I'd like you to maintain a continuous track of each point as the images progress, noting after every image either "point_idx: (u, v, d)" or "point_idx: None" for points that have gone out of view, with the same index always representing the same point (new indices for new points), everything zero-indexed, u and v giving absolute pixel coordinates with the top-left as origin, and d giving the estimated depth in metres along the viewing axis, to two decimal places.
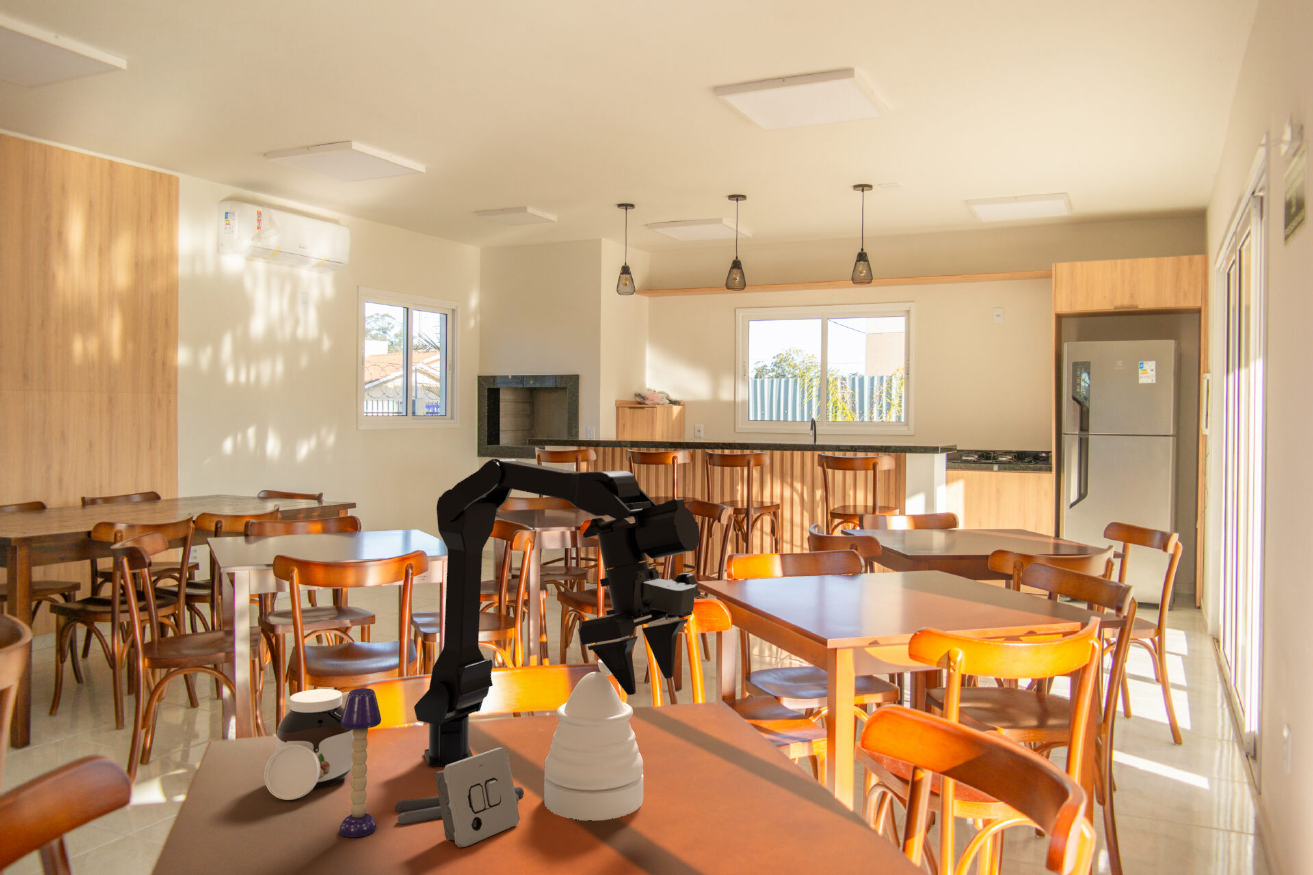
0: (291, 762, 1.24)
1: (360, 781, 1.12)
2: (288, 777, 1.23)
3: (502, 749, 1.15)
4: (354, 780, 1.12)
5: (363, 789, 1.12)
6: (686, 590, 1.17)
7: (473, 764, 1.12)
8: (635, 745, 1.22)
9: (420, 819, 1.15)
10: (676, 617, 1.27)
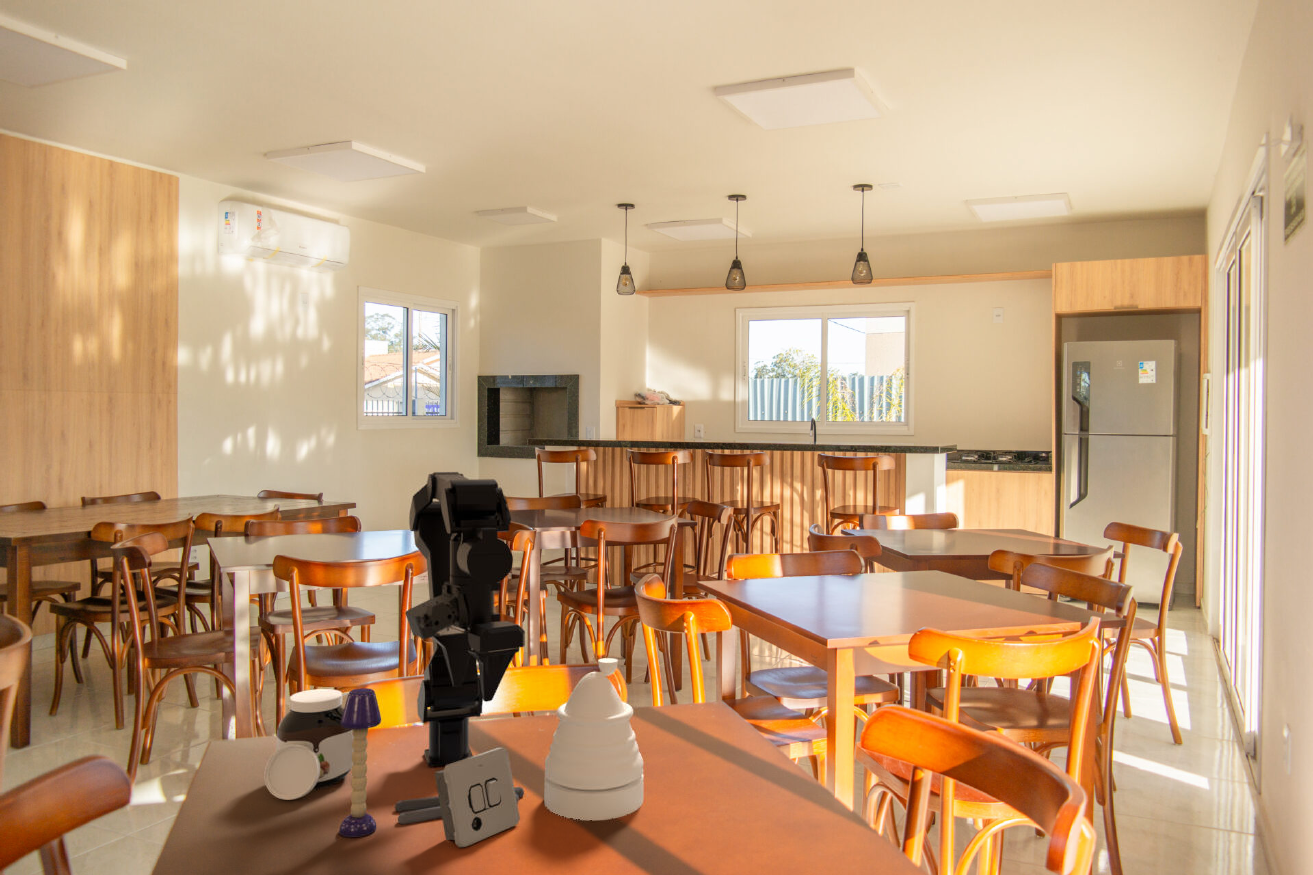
0: (291, 762, 1.24)
1: (360, 781, 1.12)
2: (288, 777, 1.23)
3: (502, 749, 1.15)
4: (354, 780, 1.12)
5: (363, 789, 1.12)
6: (408, 615, 1.19)
7: (473, 764, 1.12)
8: (635, 745, 1.22)
9: (420, 819, 1.15)
10: None
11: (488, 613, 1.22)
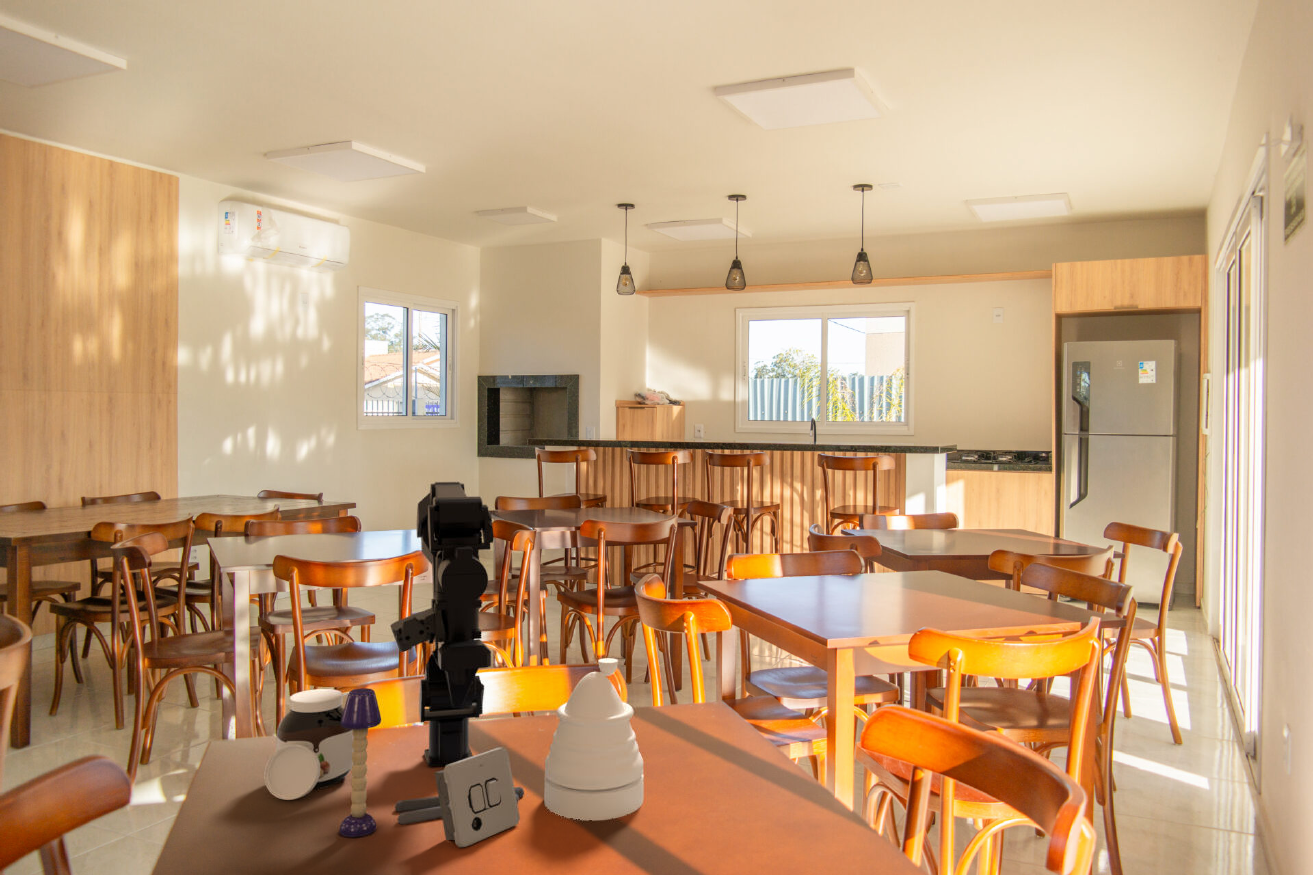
0: (291, 762, 1.24)
1: (360, 781, 1.12)
2: (288, 777, 1.23)
3: (502, 749, 1.15)
4: (354, 780, 1.12)
5: (363, 789, 1.12)
6: (391, 627, 1.23)
7: (473, 764, 1.12)
8: (635, 745, 1.22)
9: (420, 819, 1.15)
10: None
11: (467, 629, 1.23)
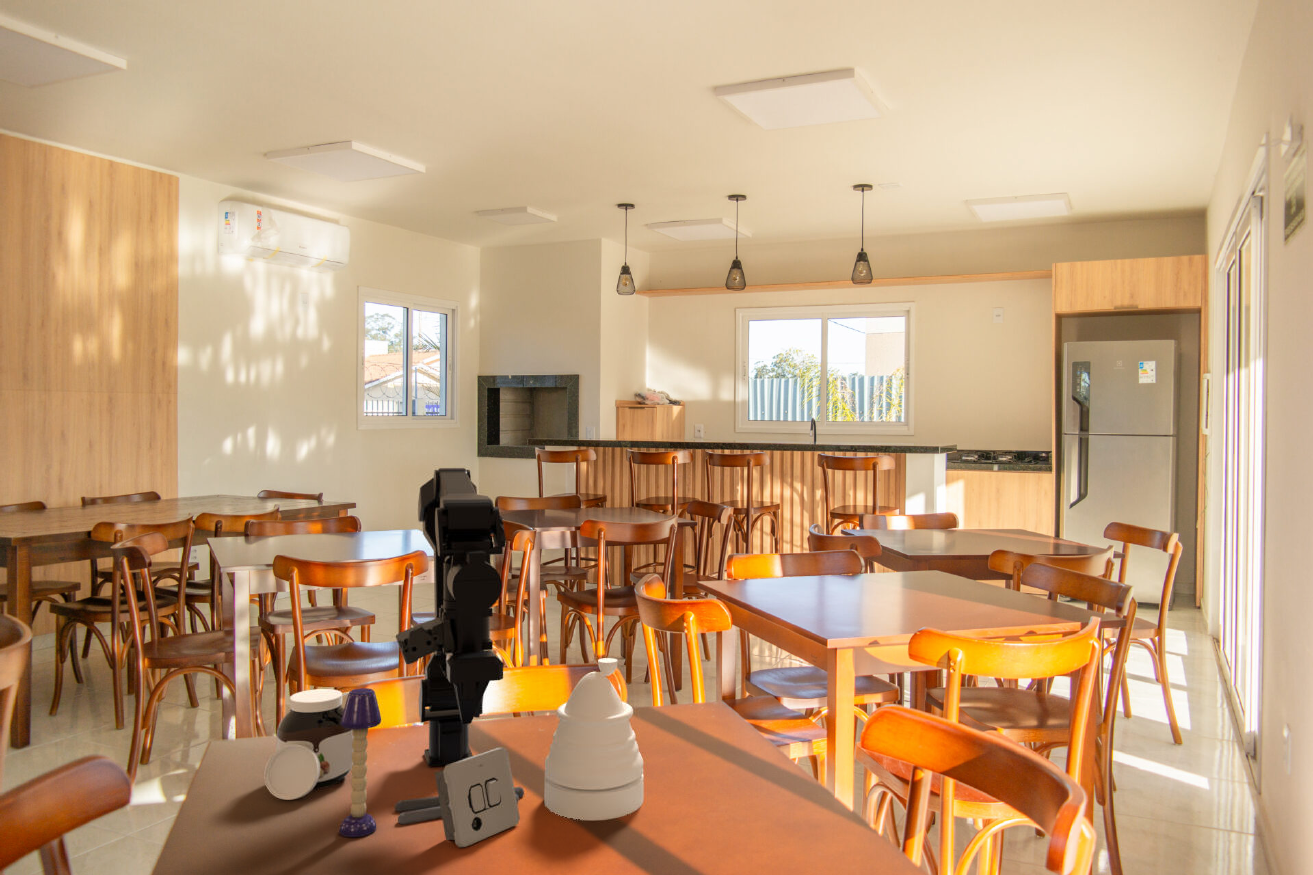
0: (291, 762, 1.24)
1: (360, 781, 1.12)
2: (288, 777, 1.23)
3: (502, 749, 1.15)
4: (354, 780, 1.12)
5: (363, 789, 1.12)
6: (396, 638, 1.16)
7: (473, 764, 1.12)
8: (635, 745, 1.22)
9: (420, 819, 1.15)
10: None
11: (478, 640, 1.16)
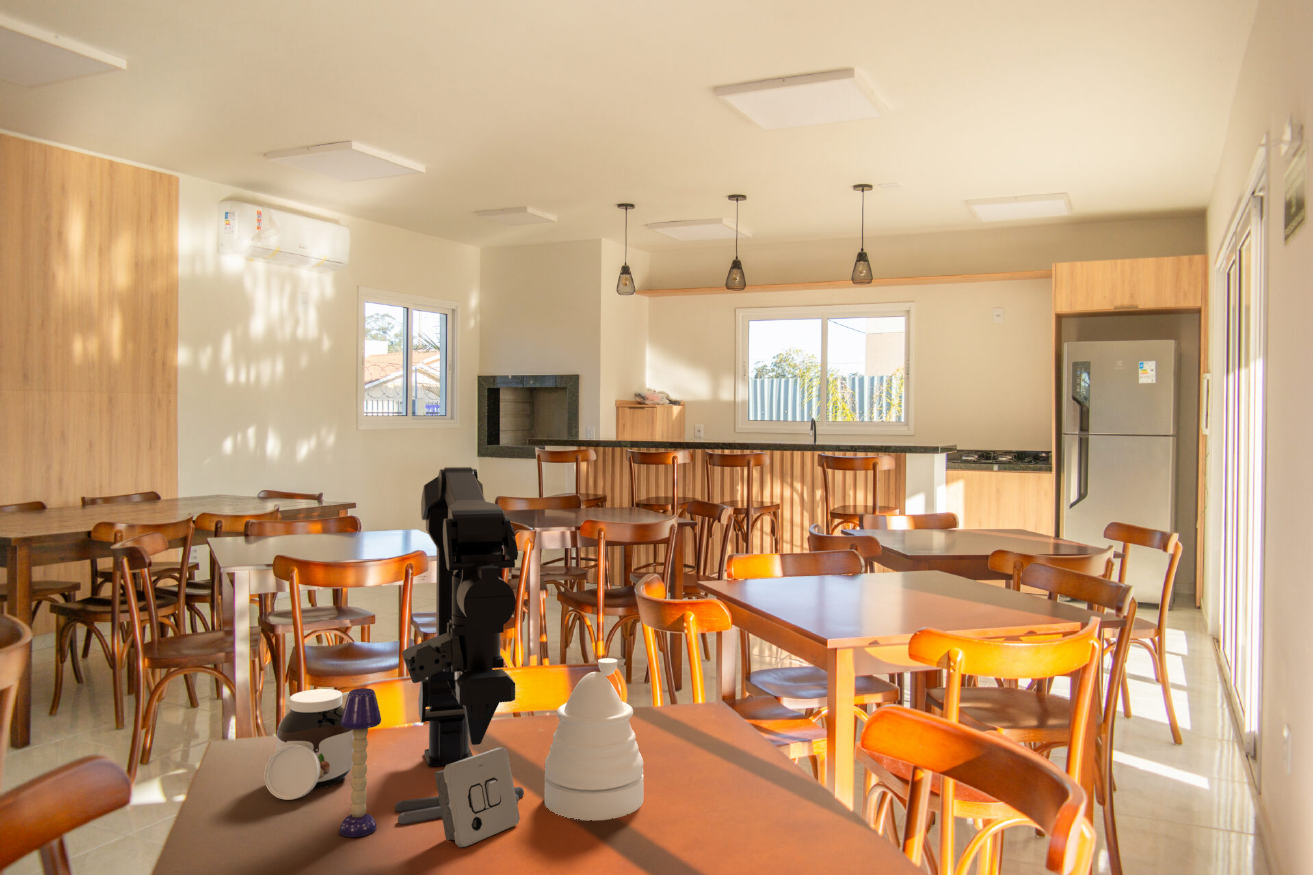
0: (291, 762, 1.24)
1: (360, 781, 1.12)
2: (288, 777, 1.23)
3: (502, 749, 1.15)
4: (354, 780, 1.12)
5: (363, 789, 1.12)
6: None
7: (473, 764, 1.12)
8: (635, 745, 1.22)
9: (420, 819, 1.15)
10: None
11: (488, 657, 1.10)
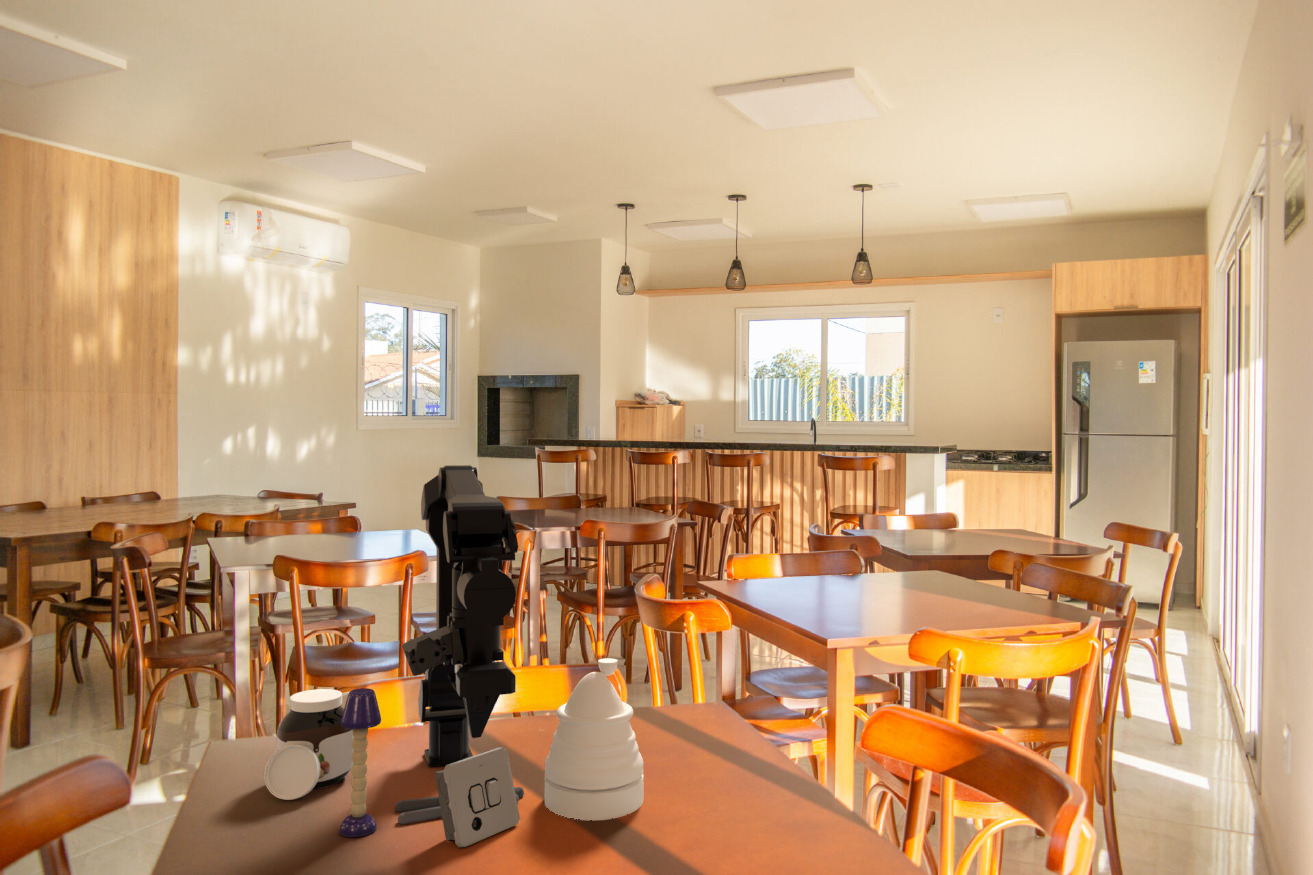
0: (291, 762, 1.24)
1: (360, 781, 1.12)
2: (288, 777, 1.23)
3: (502, 749, 1.15)
4: (354, 780, 1.12)
5: (363, 789, 1.12)
6: None
7: (473, 764, 1.12)
8: (635, 745, 1.22)
9: (420, 819, 1.15)
10: None
11: (488, 650, 1.10)
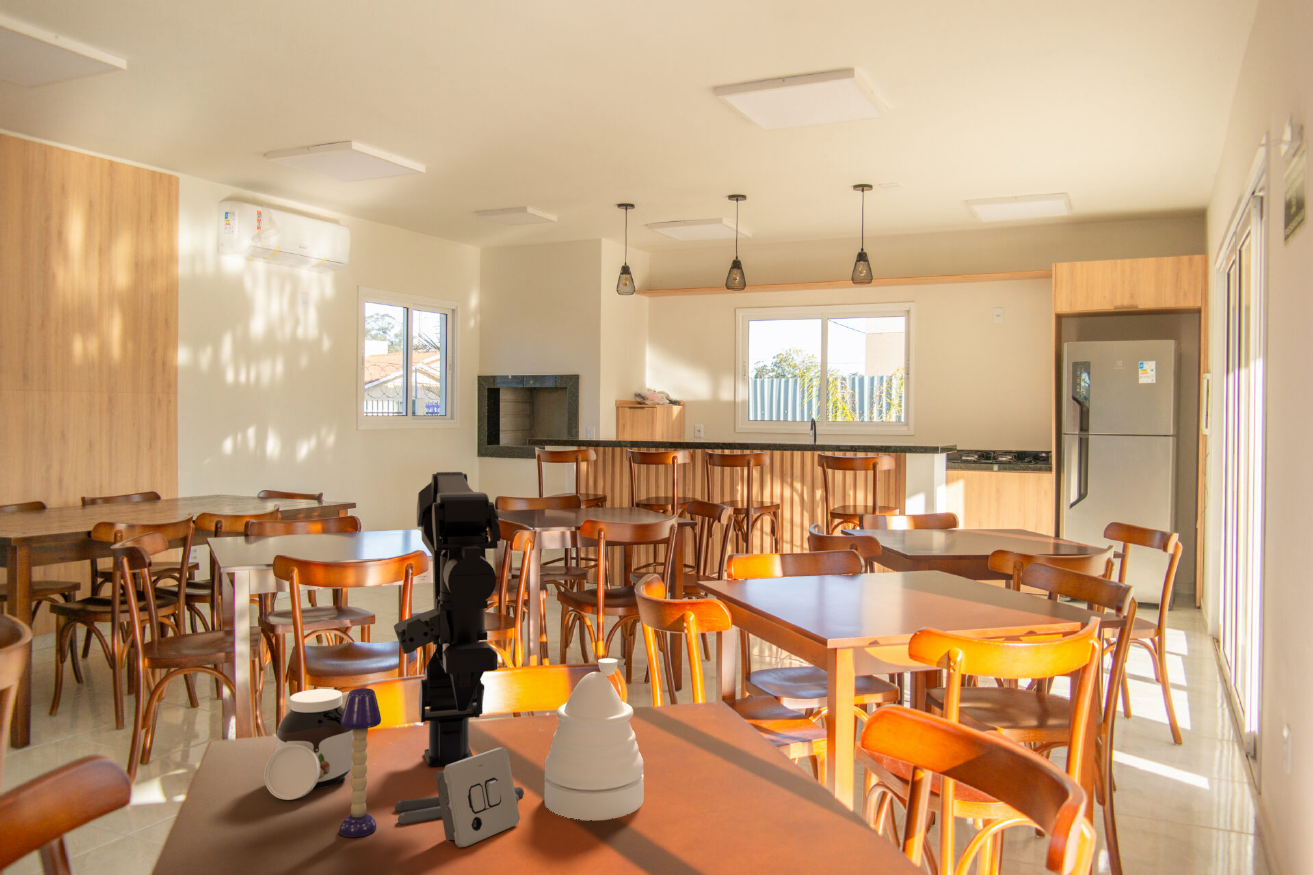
0: (291, 762, 1.24)
1: (360, 781, 1.12)
2: (288, 777, 1.23)
3: (502, 749, 1.15)
4: (354, 780, 1.12)
5: (363, 789, 1.12)
6: (394, 628, 1.20)
7: (473, 764, 1.12)
8: (635, 745, 1.22)
9: (420, 819, 1.15)
10: None
11: (473, 631, 1.20)
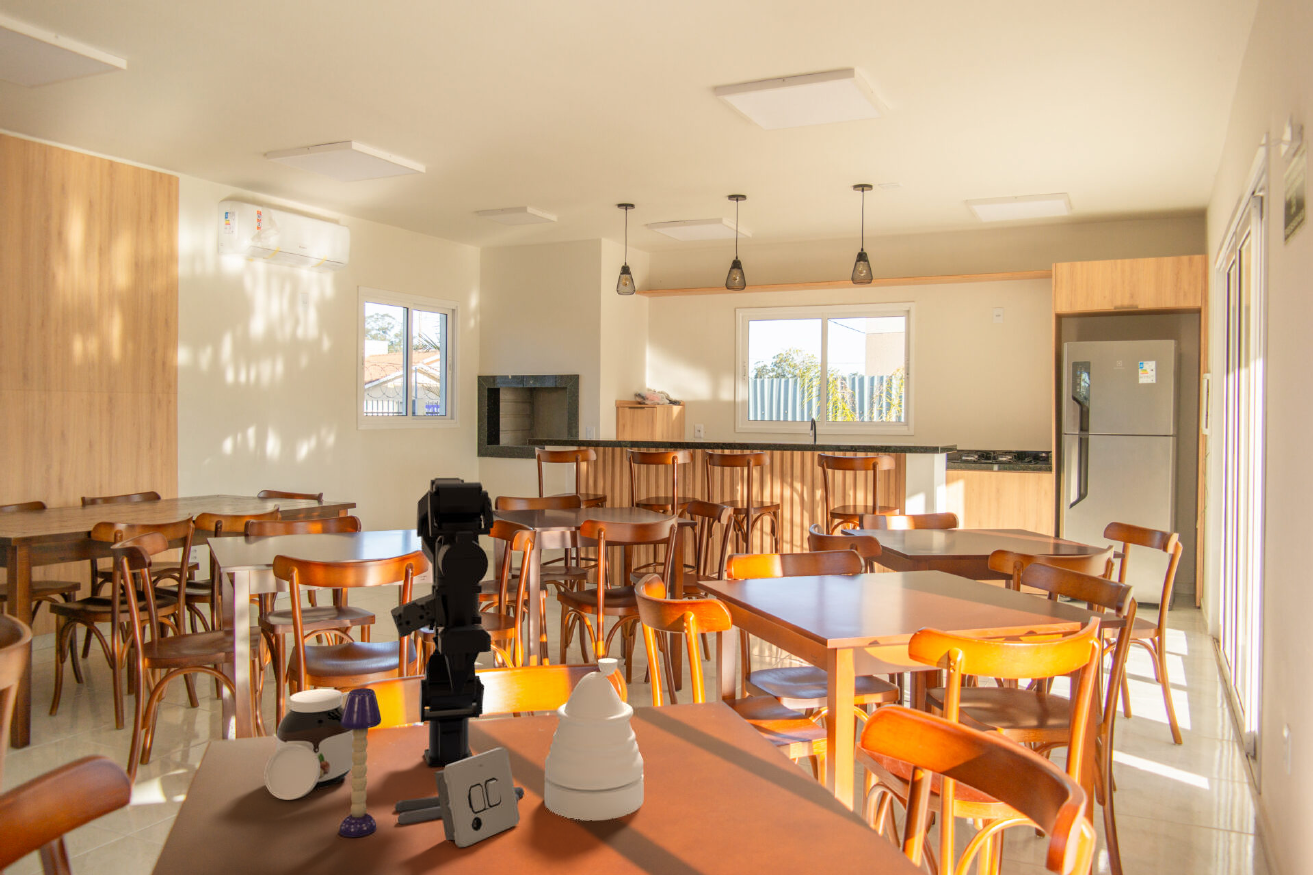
0: (291, 762, 1.24)
1: (360, 781, 1.12)
2: (288, 777, 1.23)
3: (502, 749, 1.15)
4: (354, 780, 1.12)
5: (363, 789, 1.12)
6: (391, 613, 1.23)
7: (473, 764, 1.12)
8: (635, 745, 1.22)
9: (420, 819, 1.15)
10: None
11: (467, 615, 1.23)
